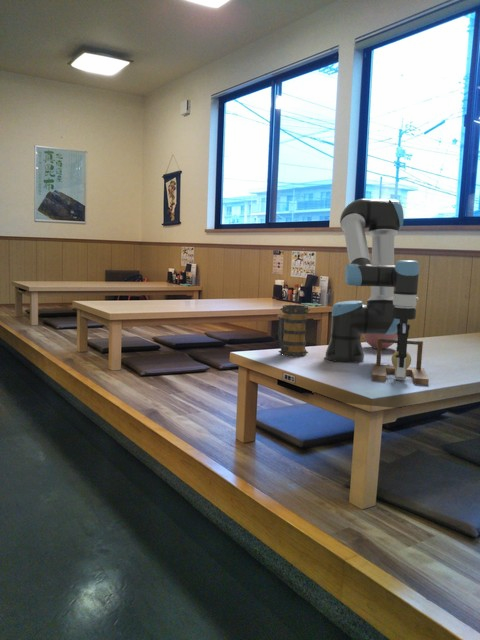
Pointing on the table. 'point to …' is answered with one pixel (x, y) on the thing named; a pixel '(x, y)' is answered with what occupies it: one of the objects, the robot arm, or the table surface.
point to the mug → (293, 330)
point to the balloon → (373, 338)
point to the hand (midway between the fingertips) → (399, 374)
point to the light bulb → (394, 362)
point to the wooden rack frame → (381, 370)
